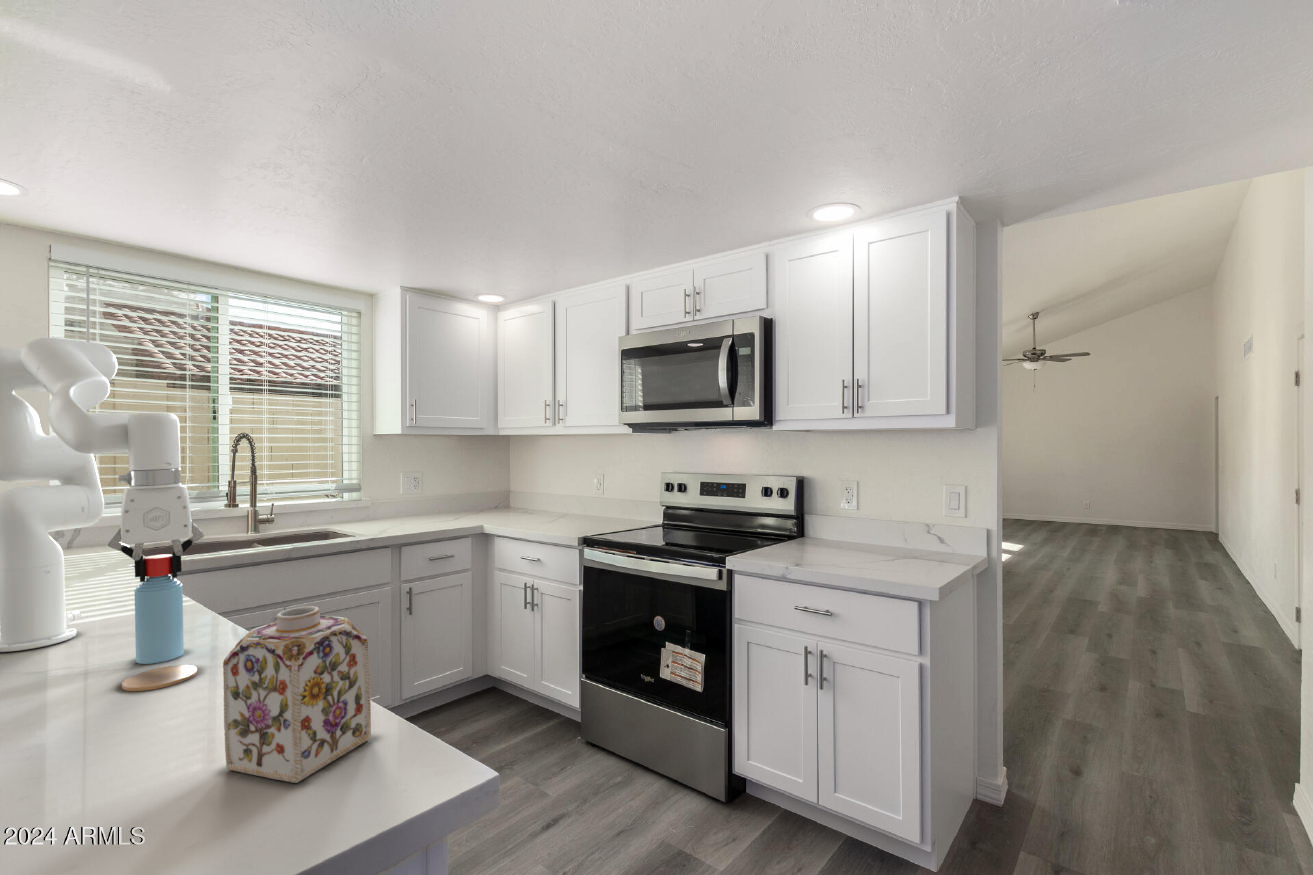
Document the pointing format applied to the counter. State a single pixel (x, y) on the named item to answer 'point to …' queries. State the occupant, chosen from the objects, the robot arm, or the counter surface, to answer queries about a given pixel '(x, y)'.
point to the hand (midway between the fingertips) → (158, 577)
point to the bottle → (159, 620)
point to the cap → (158, 565)
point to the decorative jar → (296, 695)
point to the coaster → (159, 678)
